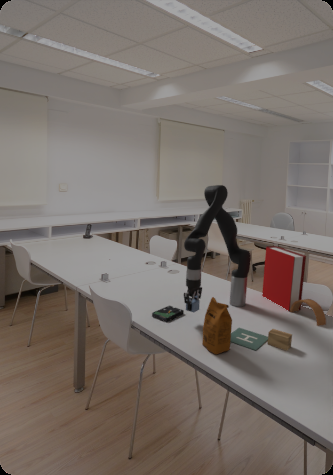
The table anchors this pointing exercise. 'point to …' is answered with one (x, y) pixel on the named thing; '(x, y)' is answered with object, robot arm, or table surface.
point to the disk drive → (167, 313)
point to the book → (283, 276)
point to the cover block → (279, 339)
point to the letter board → (248, 338)
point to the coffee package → (217, 327)
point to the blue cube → (194, 305)
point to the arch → (315, 307)
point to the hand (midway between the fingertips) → (192, 308)
